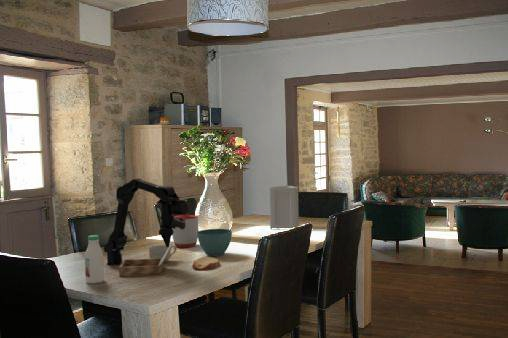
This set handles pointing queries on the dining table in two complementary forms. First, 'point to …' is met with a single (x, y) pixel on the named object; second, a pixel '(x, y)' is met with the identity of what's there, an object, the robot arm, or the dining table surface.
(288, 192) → the tall grey box
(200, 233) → the teal bowl
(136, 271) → the wooden tray
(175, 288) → the dining table surface
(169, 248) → the grey flat panel
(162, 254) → the teacup
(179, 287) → the dining table surface
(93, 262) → the milk bottle
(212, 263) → the slice of bread
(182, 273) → the dining table surface
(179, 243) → the citrus juicer
